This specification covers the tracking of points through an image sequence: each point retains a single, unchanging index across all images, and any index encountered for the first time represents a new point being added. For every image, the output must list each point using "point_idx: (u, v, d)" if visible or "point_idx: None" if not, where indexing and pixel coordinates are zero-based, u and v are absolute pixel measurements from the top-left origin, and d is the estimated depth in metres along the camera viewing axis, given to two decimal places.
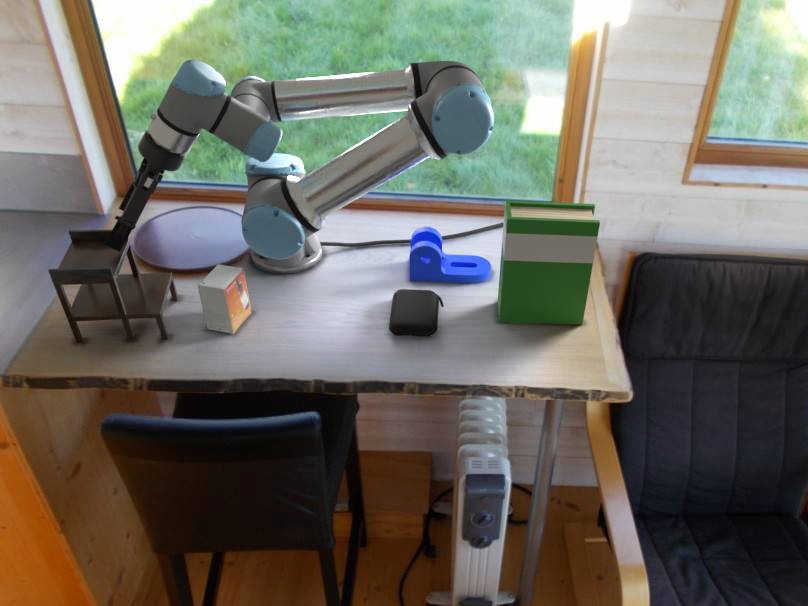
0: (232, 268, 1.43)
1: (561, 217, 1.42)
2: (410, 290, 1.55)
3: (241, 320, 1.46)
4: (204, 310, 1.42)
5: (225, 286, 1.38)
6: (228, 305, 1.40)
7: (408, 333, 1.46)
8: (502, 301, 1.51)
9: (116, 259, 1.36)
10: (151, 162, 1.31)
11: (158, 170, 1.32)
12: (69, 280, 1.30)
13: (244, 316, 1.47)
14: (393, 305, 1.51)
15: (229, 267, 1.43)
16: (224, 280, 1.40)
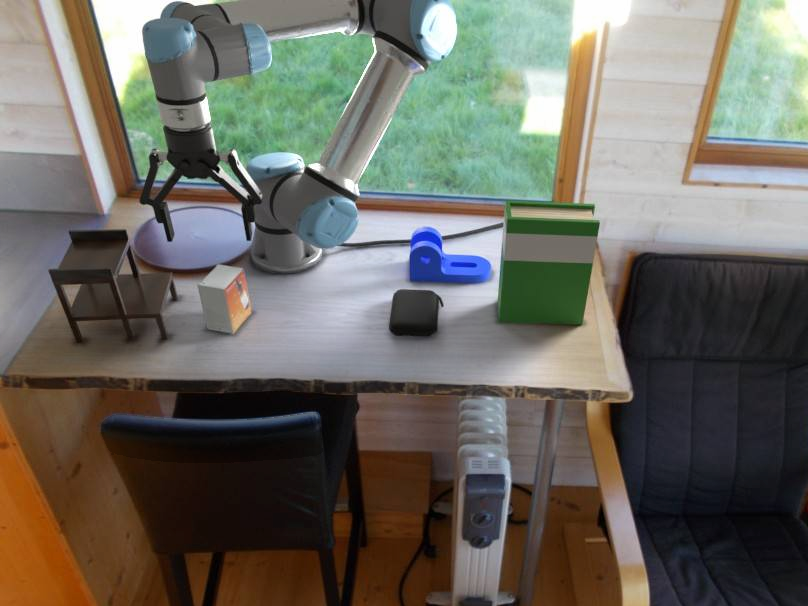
0: (232, 268, 1.43)
1: (561, 217, 1.42)
2: (410, 290, 1.55)
3: (241, 320, 1.46)
4: (204, 310, 1.42)
5: (225, 286, 1.38)
6: (228, 305, 1.40)
7: (408, 333, 1.46)
8: (502, 301, 1.51)
9: (116, 259, 1.36)
10: (213, 145, 1.23)
11: (215, 146, 1.25)
12: (69, 280, 1.30)
13: (244, 316, 1.47)
14: (393, 305, 1.51)
15: (229, 267, 1.43)
16: (224, 280, 1.40)
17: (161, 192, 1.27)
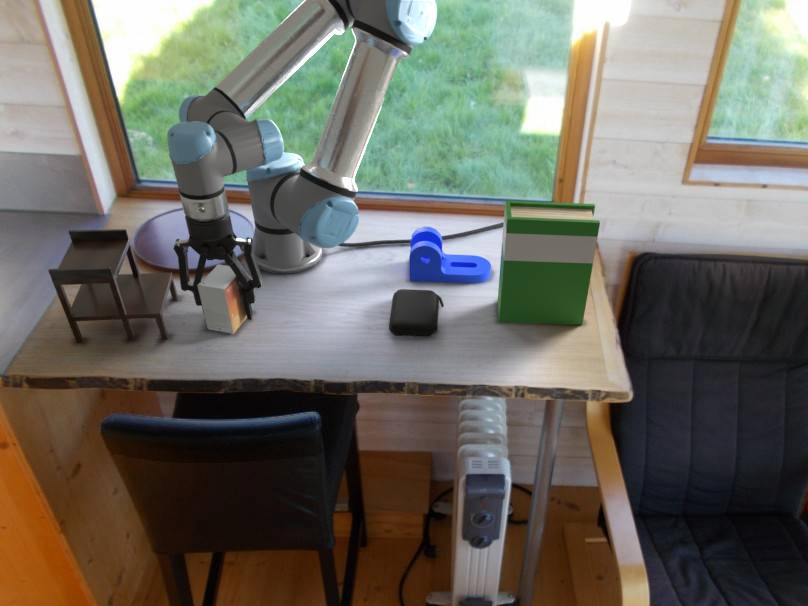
0: None
1: (561, 217, 1.42)
2: (410, 290, 1.55)
3: (241, 320, 1.46)
4: (204, 310, 1.42)
5: (226, 286, 1.38)
6: (228, 305, 1.40)
7: (408, 333, 1.46)
8: (502, 301, 1.51)
9: (116, 259, 1.36)
10: (231, 231, 1.34)
11: None
12: (69, 280, 1.30)
13: (244, 316, 1.47)
14: (393, 305, 1.51)
15: (229, 267, 1.43)
16: (224, 280, 1.40)
17: (196, 278, 1.38)
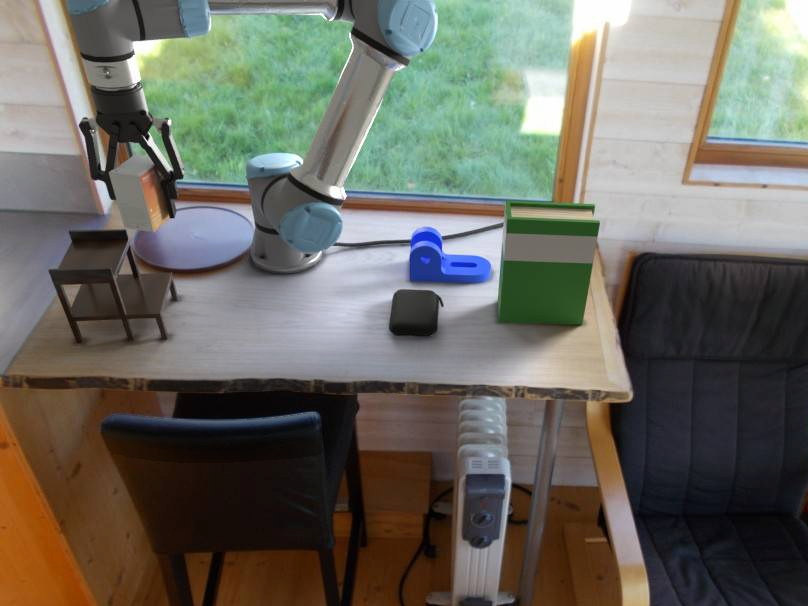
0: None
1: (562, 217, 1.42)
2: (410, 290, 1.55)
3: (163, 219, 1.30)
4: (119, 204, 1.26)
5: (141, 174, 1.22)
6: (145, 196, 1.24)
7: (408, 333, 1.46)
8: (502, 301, 1.51)
9: (116, 259, 1.36)
10: (144, 107, 1.18)
11: (147, 108, 1.20)
12: (69, 280, 1.30)
13: (166, 215, 1.31)
14: (393, 305, 1.51)
15: (147, 157, 1.27)
16: (140, 168, 1.24)
17: (107, 165, 1.23)
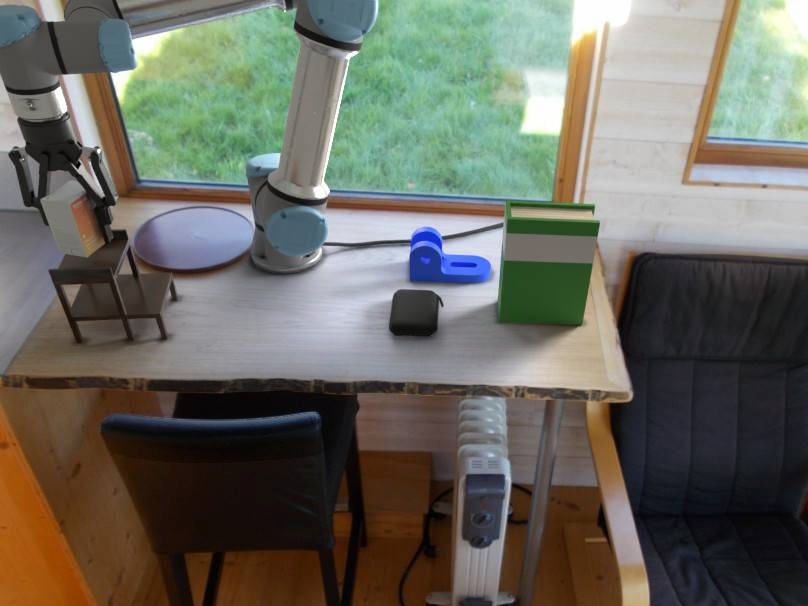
0: None
1: (562, 217, 1.42)
2: (410, 290, 1.55)
3: (98, 244, 1.32)
4: (52, 230, 1.28)
5: (72, 201, 1.24)
6: (77, 223, 1.26)
7: (408, 333, 1.46)
8: (502, 301, 1.51)
9: (116, 259, 1.36)
10: (72, 136, 1.20)
11: (76, 137, 1.22)
12: (69, 280, 1.30)
13: (102, 240, 1.33)
14: (393, 305, 1.51)
15: None
16: (71, 195, 1.26)
17: (39, 192, 1.25)
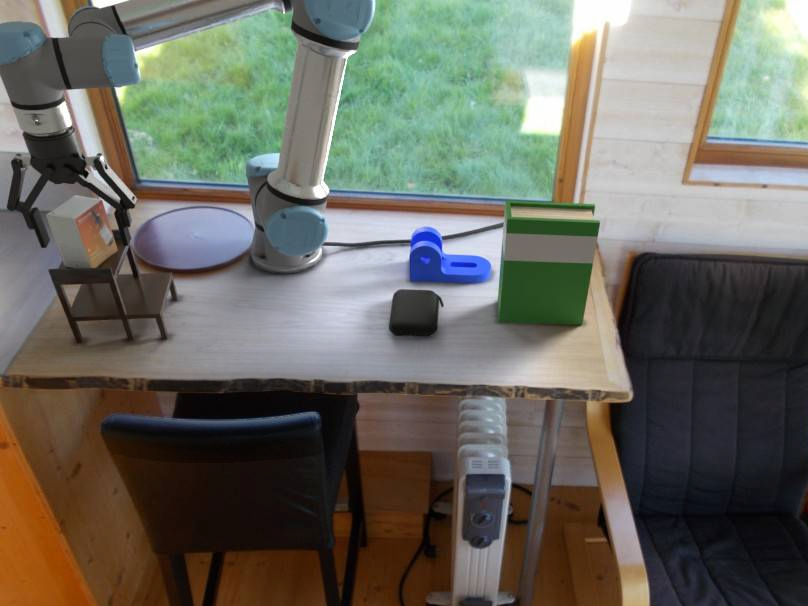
0: (89, 199, 1.31)
1: (562, 217, 1.42)
2: (410, 290, 1.55)
3: (103, 257, 1.34)
4: (57, 244, 1.30)
5: (77, 216, 1.26)
6: (82, 237, 1.28)
7: (408, 333, 1.46)
8: (502, 301, 1.51)
9: (116, 259, 1.36)
10: (77, 150, 1.22)
11: None
12: (69, 280, 1.30)
13: (106, 253, 1.35)
14: (393, 305, 1.51)
15: (86, 198, 1.31)
16: (76, 210, 1.28)
17: (28, 198, 1.25)
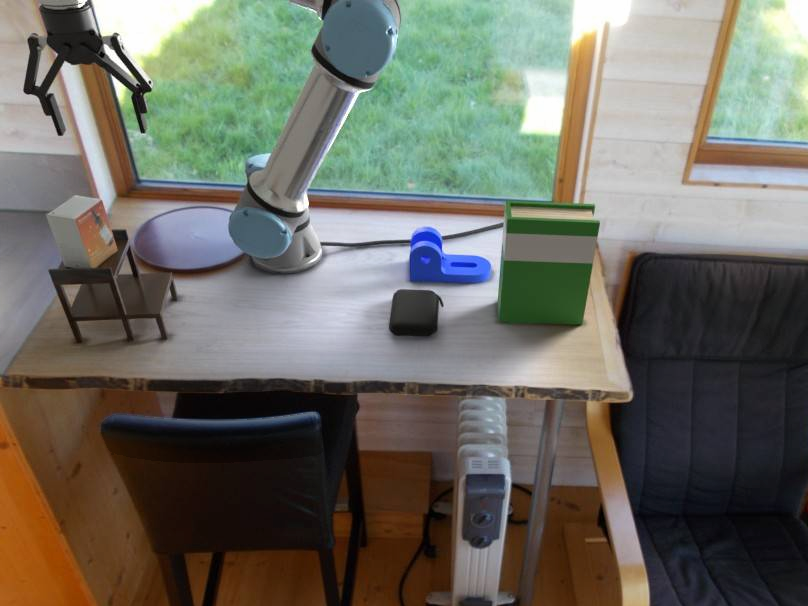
0: (89, 199, 1.31)
1: (562, 217, 1.42)
2: (410, 290, 1.55)
3: (103, 257, 1.34)
4: (57, 244, 1.30)
5: (77, 216, 1.26)
6: (82, 237, 1.28)
7: (408, 333, 1.46)
8: (502, 301, 1.51)
9: (116, 259, 1.36)
10: (94, 27, 1.21)
11: None
12: (69, 280, 1.30)
13: (106, 253, 1.35)
14: (393, 305, 1.51)
15: (86, 198, 1.31)
16: (76, 210, 1.28)
17: (45, 80, 1.25)
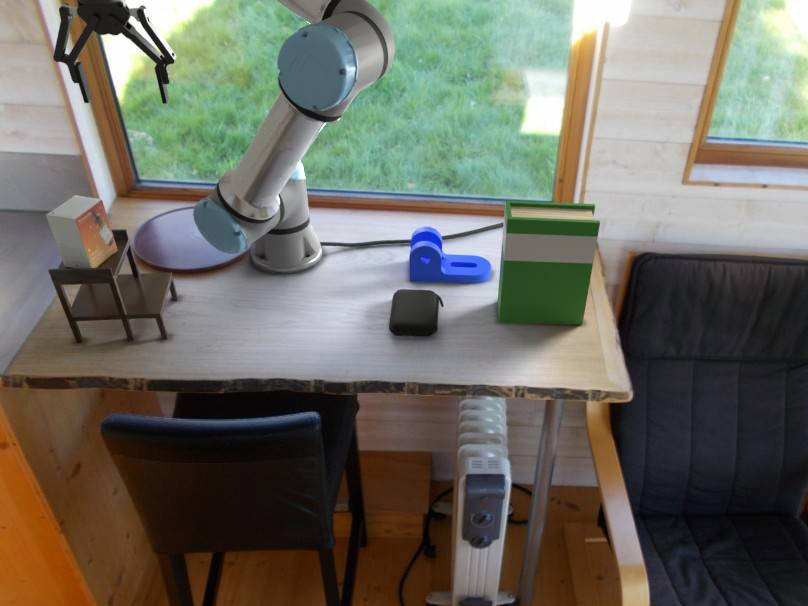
0: (89, 199, 1.31)
1: (562, 217, 1.42)
2: (410, 290, 1.55)
3: (103, 257, 1.34)
4: (57, 244, 1.30)
5: (77, 216, 1.26)
6: (82, 237, 1.28)
7: (408, 333, 1.46)
8: (502, 301, 1.51)
9: (116, 259, 1.36)
10: None
11: None
12: (69, 280, 1.30)
13: (106, 253, 1.35)
14: (393, 305, 1.51)
15: (86, 198, 1.31)
16: (76, 210, 1.28)
17: (74, 48, 1.31)
